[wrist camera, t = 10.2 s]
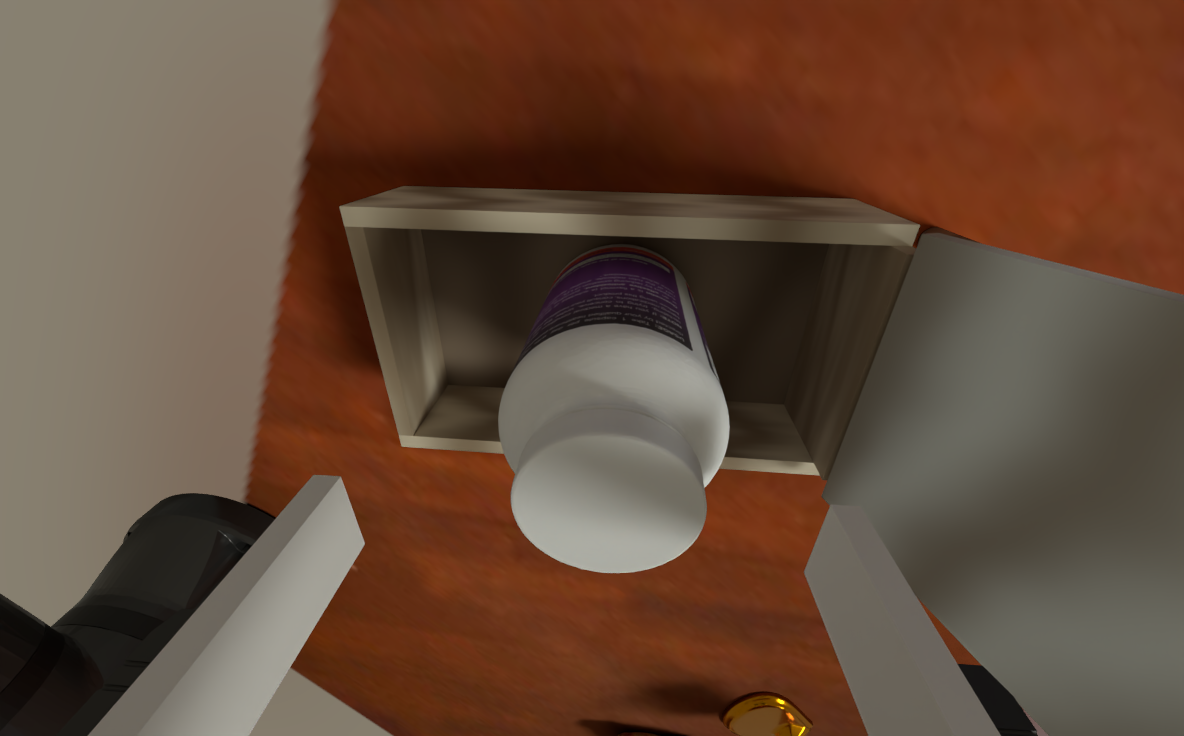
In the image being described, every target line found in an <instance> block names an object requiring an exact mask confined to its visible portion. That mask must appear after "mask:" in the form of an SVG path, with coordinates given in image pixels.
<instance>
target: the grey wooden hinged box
mask: <svg viewBox="0 0 1184 736" xmlns="http://www.w3.org/2000/svg"><path fill="white" fill-rule="evenodd" d="M339 208H340V212H341V216H342V219H343V223H344V227H345V231H346V235H347V239H348V242H349V246H350V250H351V254H352V258H353V261H354V265H355V269H356V273H357V277H358V281H359V284H360V288H361V292H362V296H363V300H364V304H365V307H366V311H367V315H368V319H369V323H370V327H371V330H372V334H373V338H374V342H375V346H376V350H377V353H378V357H379V361H380V365H381V369H382V373H383V376H384V380H385V384H386V388H387V392H388V396H389V399H390V403H391V407H392V411H393V415H394V419H395V422H396V426H397V430H398V434H399V438H400V442H401V445H402V447H415V448H430V449H444V450H459V451H473V452H488V453H502V454H504V452H503V449H502V445H501V442H500V437H499V428H498V415H499V407H500V402H501V398H502V395H503V392H504V389H505V387H506V384H507V382H508V380H509V377H510V375H511V373H512V371H513V369H514V367H515V365H516V362H517V360H518V358H519V356H520V354H521V352H522V349H523V347H524V345H525V343H526V341H527V338H528V336H529V334H530V332H531V330H532V328H533V325H534V323H535V321H536V319H537V317H538V315H539V312H540V310H541V308H542V306H543V304H544V302H545V299H546V297H547V295H548V292H549V290H550V288H551V287H552V285H553V283H554V281H555V280H556V278H557V276H558V275H559V274H560V272H561V271H562V270H563V269H564V268H565V267H566V266H567V265H568V264H569V263H570V262H571V261H572V260H574V259H575V258H576V257H578V256H579V255H581V254H583V253H585V252H587V251H589V250H592V249H594V248H597V247H601V246H606V245H613V244H628V245H635V246H639V247H643V248H646V249H649V250H651V251H653V252H656V253H657V254H659V255H661V256H663V257H664V258H665V259H667V260H668V261H669V262H671V263H672V264H673V265H674V266H675V267H676V268H677V269H678V270H679V272H680V273H681V274H682V275H683V277H684V279H685V280H686V282H687V284H688V286H689V288H690V290H691V293H692V295H693V298H694V302H695V305H696V308H697V312H698V315H699V318H700V322H701V325H702V328H703V332H704V335H705V338H706V341H707V344H708V347H709V350H710V353H711V357H712V360H713V363H714V366H715V369H716V372H717V375H718V378H719V381H720V384H721V387H722V390H723V394H724V397H725V401H726V404H727V407H728V415H729V426H730V428H729V440H728V445H727V449H726V453H725V456H724V458H723V461H722V463H721V465H720V467H719V468H720V469H735V470H749V471H764V472H779V473H793V474H808V475H820V476H821V478H822V480H828V481H827V483H826V486H825V488H824V491H823V494H822V496H821V497H822V498H823V499H824V500H825V501H826V502H827V503H828V504H829V505H849V506H861V507H862V509H863V510H864V512H865V514H866V515H867V517H868V519H869V520H870V522H871V523H872V525H873V527H874V528H875V530H876V532H877V533H878V535H879V537H880V538H881V540H882V542H883V543H884V545H885V546H886V548H887V550H888V551H889V553H890V555H891V556H892V558H893V560H894V561H895V563H896V564H897V566H898V568H899V569H900V571H901V573H902V574H903V576H904V578H905V579H906V581H907V583H908V584H909V586H910V587H911V589H912V591H913V592H914V594H915V595H916V596H917V598H918V599H919V600H920V601H921V602H922V603H923V604H924V605H925V606H926V607H927V608H928V609H929V610H930V611H931V612H932V613H933V614H934V615H935V616H936V618H937V619H938V620H939V621H940V622H941V623H942V624H943V625H944V626H945V627H946V628H947V629H948V630H949V631H950V632H951V633H952V634H953V635H954V636H955V637H956V639H957V640H958V641H959V642H960V643H961V644H962V645H963V646H964V647H965V648H966V649H967V650H968V651H969V652H970V653H971V654H972V655H973V656H974V657H975V659H976V660H977V661H978V662H979V663H980V664H981V665H982V666H983V667H984V668H985V669H987V670H988V671H989V672H990V673H991V674H992V675H993V676H994V677H995V678H996V679H997V680H998V681H999V682H1000V683H1001V684H1002V685H1003V686H1004V687H1005V688H1006V689H1007V690H1008V691H1009V692H1010V693H1011V694H1012V695H1013V696H1014V698H1015V699H1016V701H1017V702H1018V704H1019V705H1020V706H1021V707H1022V708H1023V709H1024V710H1025V711H1026V712H1027V713H1028V714H1029V715H1030V716H1031V717H1032V718H1033V719H1034V721H1035V722H1036V723H1037V724H1038V725H1039V726H1040V727H1041V728H1042V729H1043V730H1044V731H1045V732H1046V733H1047V734H1048V735H1049V736H1184V295H1181V294H1178V293H1174V292H1170V291H1166V290H1162V289H1158V288H1154V287H1150V286H1146V285H1142V284H1138V283H1134V282H1130V281H1126V280H1122V279H1118V278H1114V277H1111V276H1107V275H1103V274H1099V273H1095V272H1091V271H1087V270H1083V269H1079V268H1075V267H1071V266H1067V265H1063V264H1059V263H1055V262H1051V261H1047V260H1043V259H1040V258H1036V257H1032V256H1028V255H1024V254H1020V253H1016V252H1012V251H1008V250H1004V249H1000V248H996V247H992V246H988V245H984V244H982V243H979V242H976V241H974V240H971V239H968V238H966V237H963V236H960V235H958V234H955V233H952V232H950V231H947V230H944V229H942V228H939V227H932V228H929V229H927V230H926V231H924V232H923V233H922V235H921V236H920V238H919V240H918V246H917V249H916V248H914V247H912V245H913V243H914V240H915V238H916V235H917V232H918V230H919V227H920V225H919V224H917V223H914V222H912V221H909V220H906V219H904V218H901V217H899V216H896V215H894V214H891V213H889V212H886V211H884V210H881V209H878V208H876V207H873V206H871V205H868V204H866V203H863V202H861V201H858V200H856V199H844V198H809V197H774V196H739V195H704V194H669V193H634V192H599V191H564V190H529V189H494V188H459V187H424V186H402V187H399V188H396V189H392V190H389V191H386V192H383V193H380V194H377V195H373V196H370V197H367V198H364V199H361V200H357V201H354V202H351V203H348V204H345V205H342V206H339Z"/></svg>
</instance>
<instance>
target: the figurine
mask: <svg viewBox="0 0 1184 736" xmlns="http://www.w3.org/2000/svg"><path fill="white" fill-rule="evenodd" d="M722 721H723V724H724V725H725V727H727V728H728V729H729V730H730V731H731V732H733V733H734V734H737V735H740V736H805V735H806V734H807V733H808V732H809V731H810V729H811V727H812V726H813V723H812V721H811V720H810V719H809V718H808V717H807V716H806V715H805V714H804V713H803V712H802V711H801V710H800V709H799V708H798V707H797V706H796V705H795V704H794V703H792V702H791V701H790V700H788V699H787V698H785V697H784V696H782V695H779V694H776V693H771V692H760V693H755V694H751V695H748V696H745V697H743V698H741V699H739V700H737V701H735V702H734V703H732V704H731V705H730V706H729V707H728V708H727V709H726V710H725V711H724V713H723V715H722Z"/></svg>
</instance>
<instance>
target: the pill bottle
mask: <svg viewBox="0 0 1184 736" xmlns="http://www.w3.org/2000/svg"><path fill="white" fill-rule="evenodd" d="M498 428H499V437H500V442H501V445H502V449H503V452H504V454H505V457H506V459H507V461H508V463H509V465H510V467H511V469H512V470H513V472H514V473H515V477H514V481H513V484H512V490H511V506H512V511H513V514H514V517H515V520H516V522H517V524H518V526H519V528H520V529H521V531H522V532H523V533H524V535H525V536H526V537H527V538H528V539H529V540H530V541H531V542H532V543H533V544H534V545H535V546H536V547H537V548H539V549H540V550H541V551H543V552H544V553H546V554H547V555H549V556H551V557H553V558H554V559H556V560H558V561H560V562H563V563H565V564H568V565H571V566H574V567H577V568H580V569H585V570H590V571H595V572H603V573H627V572H636V571H642V570H646V569H650V568H654V567H657V566H659V565H662V564H664V563H666V562H669V561H671V560H673V559H674V558H676V557H677V556H679V555H681V554H682V553H683V552H684V551H685V550H687V549H688V548H689V547H690V546H691V545H692V544H693V543H694V541H695V540H696V539H697V538H698V536H699V534H700V532H701V530H702V528H703V525H704V522H705V518H706V512H707V504H706V496H705V490H704V488H705V487H706V486H707V485H708V483H709V482H710V481H711V480H712V478H713V477H714V475H715V474H716V472H717V471H718V469H719V467H720V465H721V463H722V461H723V458H724V456H725V453H726V449H727V445H728V440H729V428H730V426H729V415H728V407H727V404H726V401H725V397H724V394H723V390H722V387H721V384H720V381H719V378H718V375H717V372H716V369H715V366H714V363H713V360H712V357H711V353H710V350H709V347H708V344H707V341H706V338H705V335H704V332H703V328H702V325H701V322H700V318H699V315H698V312H697V308H696V305H695V302H694V298H693V295H692V293H691V290H690V288H689V286H688V284H687V282H686V280H685V279H684V277H683V275H682V274H681V273H680V272H679V270H678V269H677V268H676V267H675V266H674V265H673V264H672V263H671V262H669V261H668V260H667V259H665V258H664V257H663V256H661V255H659V254H657V253H656V252H653V251H651V250H649V249H646V248H643V247H639V246H635V245H628V244H613V245H606V246H601V247H597V248H594V249H592V250H589V251H587V252H585V253H583V254H581V255H579V256H578V257H576V258H575V259H574V260H572V261H571V262H570V263H569V264H568V265H567V266H566V267H565V268H564V269H563V270H562V271H561V272H560V274H559V275H558V276H557V278H556V280H555V281H554V283H553V285H552V287H551V288H550V290H549V292H548V295H547V297H546V299H545V302H544V304H543V306H542V308H541V310H540V312H539V315H538V317H537V319H536V321H535V323H534V325H533V328H532V330H531V332H530V334H529V336H528V338H527V341H526V343H525V345H524V347H523V349H522V352H521V354H520V356H519V358H518V360H517V362H516V365H515V367H514V369H513V371H512V373H511V375H510V377H509V380H508V382H507V384H506V387H505V389H504V392H503V395H502V398H501V402H500V407H499V415H498Z"/></svg>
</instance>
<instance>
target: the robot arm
mask: <svg viewBox="0 0 1184 736" xmlns="http://www.w3.org/2000/svg"><path fill="white" fill-rule="evenodd" d="M364 545H365V543H364V540H363V537H362V534H361V532H360V529H359V526H358V523H357V520H356V518H355V515H354V512H353V509H352V507H351V504H350V501H349V498H348V495H347V493H346V490H345V487H344V484H343V481H342V479H341V476H324V475H313V476H312V477H311V479H310V480H309V481H308V482H307V483H306V484H305V486H304V487H303V488H302V489H301V490H300V491H299V492H298V494H297V495H296V496H295V497H294V498H293V499H292V501H291V502H290V503H289V504H288V505H287V506H286V507H285V509H284V510H283V511H282V512H281V513H280V514H279V516H278V517H277V518H276V519H274V518H272V517H270V516H269V515H267V514H265V513H263V512H261V511H259V510H257V509H255V508H253V507H250V506H248V505H245V504H243V503H240V502H237V501H234V500H231V499H227V498H223V497H219V496H214V495H208V494H196V493H190V494H180V495H174V496H171V497H168V498H166V499H164V500H162V501H160V502H159V503H158V504H157V505H155V506H154V507H153V508H152V509H151V510H149V511H148V512H147V513H146V514H144V515H143V516H142V517H141V518H140V519H138V520H137V521H136V522H135V523H134V524H133V525H132V527H131V528H130V529H129V531H128V533H127V534H126V536H125V538H124V542H123V544H122V545H121V547H120V548H119V549H118V551H117V552H116V553H115V554H114V556H113V557H112V558H111V560H110V561H109V562H108V564H107V565H106V566H105V568H104V569H103V570H102V572H101V573H100V574H99V576H98V577H97V579H96V580H95V582H94V583H93V584H92V586H91V587H90V589H89V590H88V591H87V593H86V594H85V595H84V597H83V598H82V599H81V600H80V601H79V602H78V603H77V604H76V605H75V606H74V607H73V608H72V609H71V610H69V611H68V612H67V613H66V614H65V615H64V616H63V617H62V618H60V619H59V620H58V621H57V622H56V623H55V624H54V625H53V626H51V627H50V626H48V625H47V624H45V623H44V622H43V621H41V620H40V619H38V618H37V617H35V616H34V615H32V614H31V613H29V612H28V611H26V610H25V609H23V608H22V607H20V606H18V605H17V604H15V603H14V602H12V601H11V600H9V599H8V598H6V597H5V596H3V595H2V594H0V736H249V734H250V733H251V731H252V729H253V727H254V726H255V724H256V723H257V721H258V719H259V718H260V716H261V714H262V713H263V711H264V709H265V708H266V706H267V705H268V703H269V701H270V700H271V698H272V696H273V695H274V693H275V691H276V690H277V688H278V686H279V685H280V683H281V681H282V680H283V678H284V677H285V675H286V673H287V671H288V670H289V668H290V667H291V665H292V663H293V662H294V660H295V658H296V657H297V655H298V653H299V652H300V650H301V648H302V647H303V645H304V644H305V642H306V640H307V639H308V637H309V635H310V634H311V632H312V630H313V629H314V627H315V625H316V624H317V622H318V620H319V619H320V617H321V615H322V614H323V612H324V611H325V609H326V607H327V606H328V604H329V602H330V601H331V599H332V597H333V596H334V594H335V592H336V591H337V589H338V587H339V586H340V584H341V583H342V581H343V579H344V578H345V576H346V574H347V573H348V571H349V569H350V568H351V566H352V564H353V563H354V561H355V559H356V558H357V556H358V554H359V553H360V551H361V550H362V548H363V546H364ZM804 574H805V576H806V579H807V581H808V584H809V586H810V589H811V591H812V594H813V596H814V599H815V602H816V604H817V607H818V609H819V612H820V614H821V617H822V619H823V622H824V624H825V627H826V629H827V632H828V634H829V637H830V639H831V642H832V644H833V647H834V649H835V652H836V655H837V657H838V660H839V662H840V665H841V667H842V670H843V672H844V675H845V677H846V680H847V682H848V685H849V687H850V690H851V692H852V695H853V697H854V700H855V703H856V705H857V708H858V710H859V713H860V715H861V718H862V720H863V723H864V725H865V728H866V730H867V733H868V735H869V736H1038V735H1037V731H1036V729H1035V728H1034V726H1033V725H1032V723H1031V722H1030V720H1029V719H1028V717H1027V716H1026V714H1025V713H1024V711H1023V710H1022V708H1021V707H1020V705H1019V704H1018V702H1017V701H1016V699H1015V698H1014V696H1013V695H1012V694H1011V693H1010V692H1009V691H1008V690H1007V689H1006V688H1005V687H1004V686H1003V685H1002V684H1001V683H1000V682H999V681H998V680H997V679H996V678H995V677H994V676H993V675H992V674H991V673H990V672H989V671H988V670H987V669H985V668H984V667H983V666H979V665H965V664H957V663H956V661H955V660H954V658H953V656H952V655H951V653H950V651H949V650H948V648H947V646H946V645H945V643H944V642H943V640H942V638H941V637H940V635H939V633H938V632H937V630H936V628H935V627H934V625H933V624H932V622H931V620H930V619H929V617H928V615H927V614H926V612H925V610H924V609H923V607H922V605H921V604H920V602H919V601H918V599H917V597H916V596H915V594H914V592H913V591H912V589H911V587H910V586H909V584H908V583H907V581H906V579H905V578H904V576H903V574H902V573H901V571H900V569H899V568H898V566H897V564H896V563H895V561H894V560H893V558H892V556H891V555H890V553H889V551H888V550H887V548H886V546H885V545H884V543H883V542H882V540H881V538H880V537H879V535H878V533H877V532H876V530H875V528H874V527H873V525H872V523H871V522H870V520H869V519H868V517H867V515H866V514H865V512H864V510H863V509H862V507H861V506H849V505H830V508H829V510H828V513H827V515H826V518H825V520H824V523H823V525H822V528H821V530H820V533H819V535H818V538H817V540H816V543H815V545H814V548H813V550H812V553H811V555H810V558H809V561H808V563H807V566H806V568H805V571H804Z"/></svg>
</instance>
